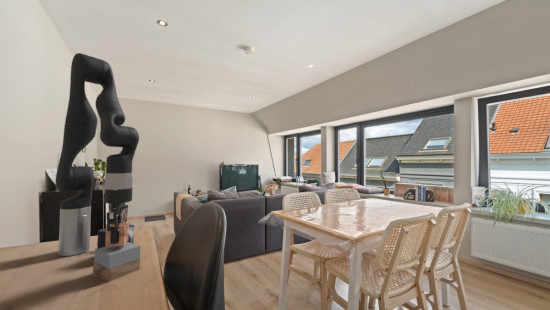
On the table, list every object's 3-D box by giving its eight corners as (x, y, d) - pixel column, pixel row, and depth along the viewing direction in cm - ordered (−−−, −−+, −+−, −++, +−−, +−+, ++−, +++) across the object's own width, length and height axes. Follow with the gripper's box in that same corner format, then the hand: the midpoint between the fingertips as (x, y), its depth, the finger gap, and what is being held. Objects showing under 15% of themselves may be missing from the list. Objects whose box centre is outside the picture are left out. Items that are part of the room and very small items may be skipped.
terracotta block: (110, 241, 76) (111, 223, 77) (128, 240, 78) (128, 222, 78) (105, 247, 72) (106, 227, 72) (124, 245, 73) (124, 225, 74)
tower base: (92, 276, 72) (93, 263, 72) (122, 265, 80) (122, 253, 80) (110, 282, 68) (110, 268, 69) (139, 270, 77) (140, 257, 77)
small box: (110, 262, 82) (111, 231, 82) (95, 260, 83) (96, 230, 84) (134, 251, 92) (135, 224, 93) (120, 249, 94) (121, 223, 94)
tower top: (94, 262, 73) (94, 249, 73) (124, 253, 81) (125, 241, 81) (109, 269, 68) (109, 255, 69) (140, 258, 76) (140, 245, 76)
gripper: (112, 185, 81) (110, 235, 80) (96, 189, 68) (94, 249, 67) (137, 184, 84) (135, 233, 83) (126, 189, 70) (124, 246, 69)
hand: (117, 240), depth 75 cm, fingers closed on terracotta block, 4 cm apart
